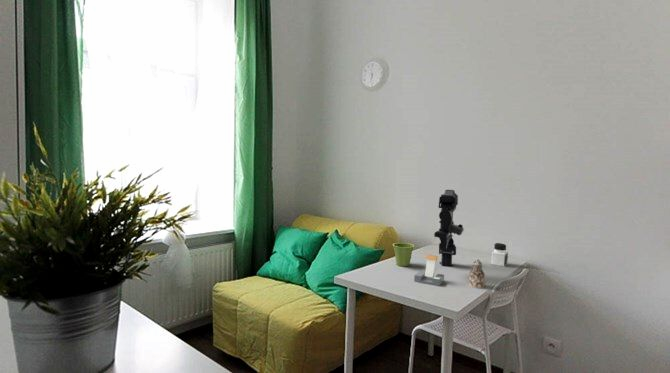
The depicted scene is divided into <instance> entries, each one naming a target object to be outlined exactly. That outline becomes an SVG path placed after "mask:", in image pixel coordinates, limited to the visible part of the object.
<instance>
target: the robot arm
mask: <svg viewBox="0 0 670 373" xmlns="http://www.w3.org/2000/svg"><path fill="white" fill-rule="evenodd" d="M455 191H456V190H454V189H446V190H444V193H442V194H441V195H440V196H439V199H438V209H440V212H439V214H438V217H439V219H440V220H439V224H440V226H439V228H438V230H437V231H435V232H434V235H433V236H434V238H438V239H439V241H440V243H438V254H439V255H441V258H440V259H441V261H439V264H440V265H441V266H443V267H454V266H455V265H454V263H453V256H456V255H457V246H456V244H455V241H454V238H453V237H454V235H457V236H461V235H462V234H463V232H464V230H465V228H464V226H463V224H462V223H461V224H460V223H459V224H455V221H454V220H453V219H454V213H455V211H456V210H457V206H458V204H459V196H458V194H457V193H456V192H455ZM453 234H454V235H453Z"/></svg>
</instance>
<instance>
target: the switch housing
mask: <svg viewBox="0 0 670 373" xmlns="http://www.w3.org/2000/svg"><path fill="white" fill-rule="evenodd" d="M413 279H414V280H413V281H414V282H416V283H422V284H427V285H432V286H437V287H440V286H441V285H442V284H443V282H445V274H443V273H436V274H435V275H434V278H431V277H425V270H419V271H418V272H417V273H415V274H414V278H413Z"/></svg>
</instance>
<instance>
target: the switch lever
mask: <svg viewBox="0 0 670 373" xmlns="http://www.w3.org/2000/svg"><path fill="white" fill-rule="evenodd" d="M425 256H426V258H425V259H426V265H425V270H424V271H425V277H431V278H434V277H435V275H436V274H435V273H436V265H437V262H438V260H439V259H438V258H439V256H438V255H433V254H427V253H426V255H425Z"/></svg>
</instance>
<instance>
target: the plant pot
mask: <svg viewBox="0 0 670 373" xmlns="http://www.w3.org/2000/svg"><path fill="white" fill-rule="evenodd" d="M392 246H393V250H394V257H395V262H396V263H395V264H396V265H397V266H398V267H409V266H410V264H411V259H412V253H413V250H414V247H415V245H414V244H413V243H408V242H407V243H406V242H394V243H392Z"/></svg>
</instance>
